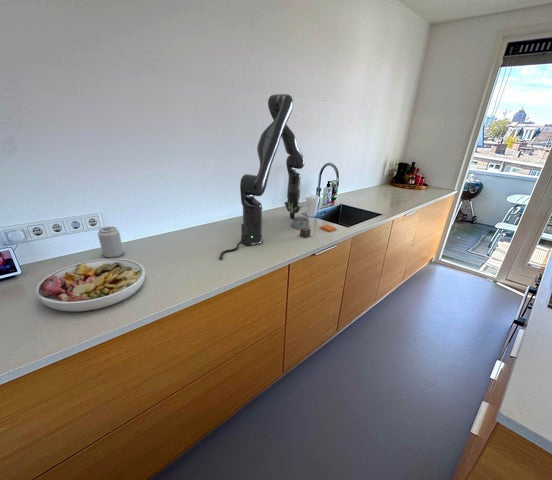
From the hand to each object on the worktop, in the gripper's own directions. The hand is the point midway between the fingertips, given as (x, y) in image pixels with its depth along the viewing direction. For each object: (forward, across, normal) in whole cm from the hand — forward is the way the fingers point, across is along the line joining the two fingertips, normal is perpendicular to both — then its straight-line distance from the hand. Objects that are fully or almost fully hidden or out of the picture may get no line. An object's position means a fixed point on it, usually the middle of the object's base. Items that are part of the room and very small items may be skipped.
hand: (292, 218), depth 177 cm
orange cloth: (+3, +21, +10) cm, 23 cm away
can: (+3, -12, -95) cm, 96 cm away
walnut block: (+3, +21, -10) cm, 23 cm away
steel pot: (+3, +8, 0) cm, 8 cm away
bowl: (+3, +15, -107) cm, 108 cm away
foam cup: (+3, -4, +22) cm, 23 cm away
